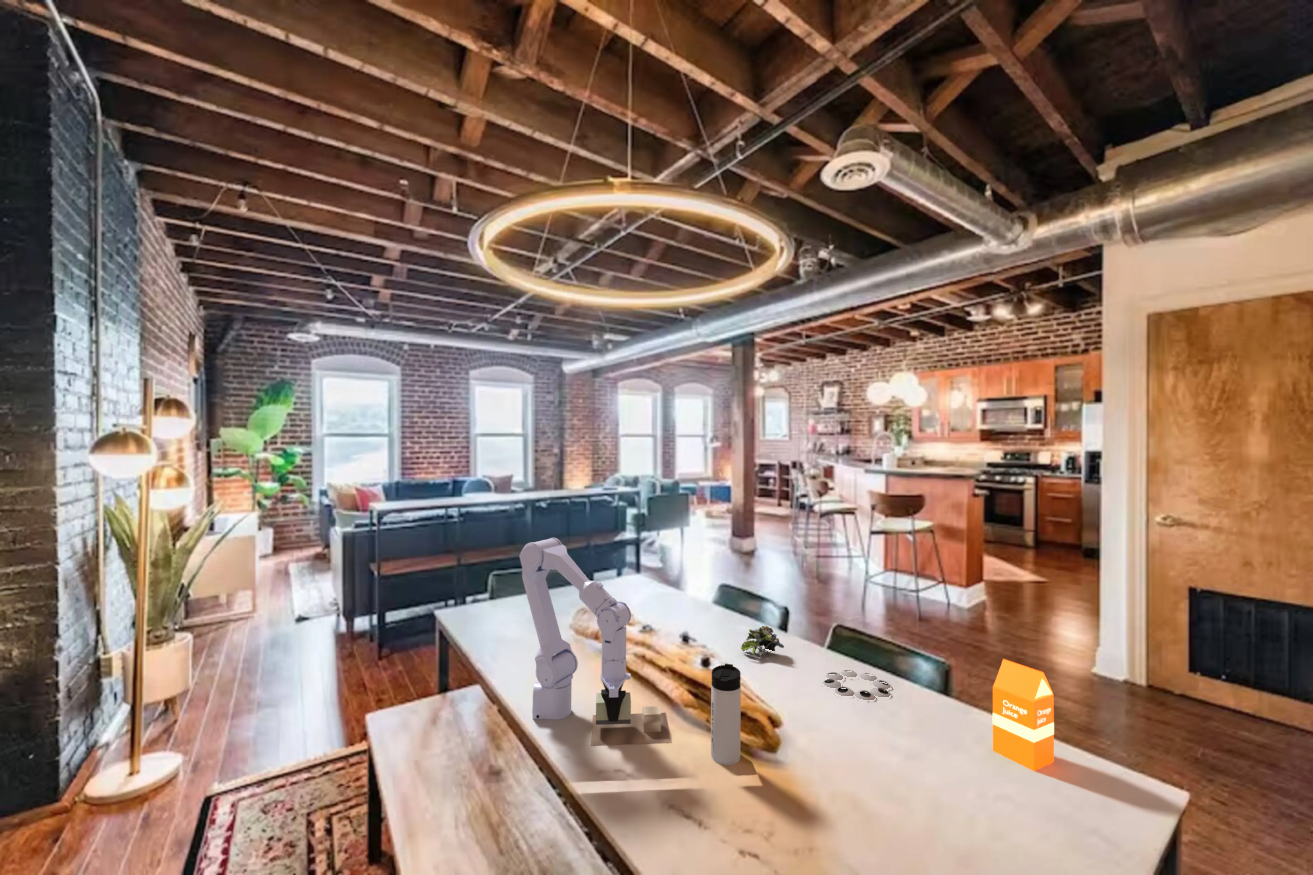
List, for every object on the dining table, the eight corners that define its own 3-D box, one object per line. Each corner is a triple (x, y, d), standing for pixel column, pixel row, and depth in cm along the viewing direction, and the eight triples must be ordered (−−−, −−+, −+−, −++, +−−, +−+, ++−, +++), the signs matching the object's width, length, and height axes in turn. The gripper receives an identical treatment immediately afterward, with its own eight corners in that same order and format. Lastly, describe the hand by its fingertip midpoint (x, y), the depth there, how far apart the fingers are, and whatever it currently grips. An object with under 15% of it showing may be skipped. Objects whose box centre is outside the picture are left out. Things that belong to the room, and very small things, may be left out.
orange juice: (1033, 771, 117) (1033, 675, 117) (992, 750, 125) (991, 661, 125) (1054, 761, 120) (1054, 668, 121) (1012, 742, 128) (1012, 655, 129)
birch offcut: (643, 731, 129) (643, 714, 129) (642, 723, 133) (642, 706, 133) (660, 731, 129) (660, 714, 129) (659, 722, 133) (659, 705, 133)
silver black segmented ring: (872, 711, 144) (872, 703, 144) (807, 686, 159) (807, 678, 159) (906, 689, 157) (907, 682, 157) (843, 668, 172) (843, 661, 172)
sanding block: (595, 724, 127) (596, 702, 128) (596, 713, 132) (596, 692, 132) (630, 723, 128) (630, 701, 128) (629, 713, 133) (630, 692, 133)
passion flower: (767, 669, 183) (789, 641, 182) (758, 674, 173) (782, 645, 172) (741, 644, 188) (762, 616, 187) (731, 648, 178) (754, 619, 177)
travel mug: (743, 757, 121) (743, 665, 122) (737, 774, 115) (737, 677, 115) (714, 751, 123) (715, 661, 124) (707, 768, 117) (708, 672, 117)
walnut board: (590, 752, 123) (590, 745, 123) (592, 720, 137) (592, 714, 137) (671, 749, 124) (671, 742, 124) (665, 718, 138) (665, 712, 138)
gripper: (632, 668, 124) (631, 729, 123) (629, 644, 138) (629, 699, 138) (600, 669, 123) (599, 730, 123) (601, 645, 137) (600, 700, 137)
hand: (613, 714), depth 130 cm, fingers closed on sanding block, 5 cm apart
